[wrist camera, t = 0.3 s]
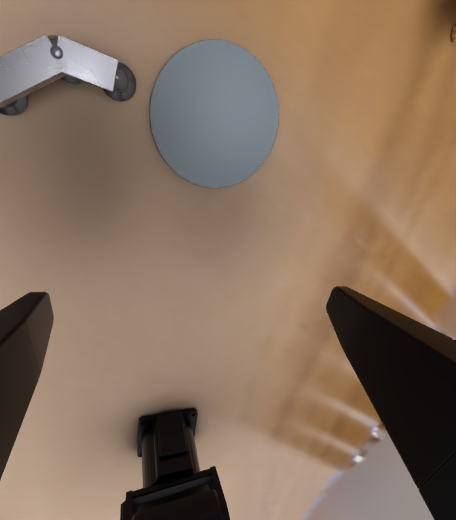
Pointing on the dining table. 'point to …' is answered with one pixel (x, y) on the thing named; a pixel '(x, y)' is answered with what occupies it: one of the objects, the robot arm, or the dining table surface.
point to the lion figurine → (453, 34)
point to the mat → (214, 113)
